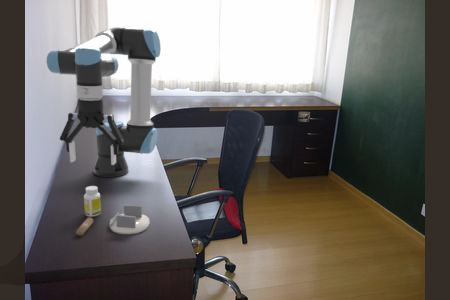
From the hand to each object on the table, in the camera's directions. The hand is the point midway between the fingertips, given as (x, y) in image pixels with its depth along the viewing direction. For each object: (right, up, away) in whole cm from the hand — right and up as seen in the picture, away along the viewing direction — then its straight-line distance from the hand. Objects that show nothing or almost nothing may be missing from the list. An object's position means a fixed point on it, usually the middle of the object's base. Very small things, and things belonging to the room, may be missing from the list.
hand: (93, 162), depth 122 cm
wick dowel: (-3, -22, -2) cm, 22 cm away
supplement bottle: (-3, -19, +9) cm, 21 cm away
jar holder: (+11, -21, +2) cm, 24 cm away
